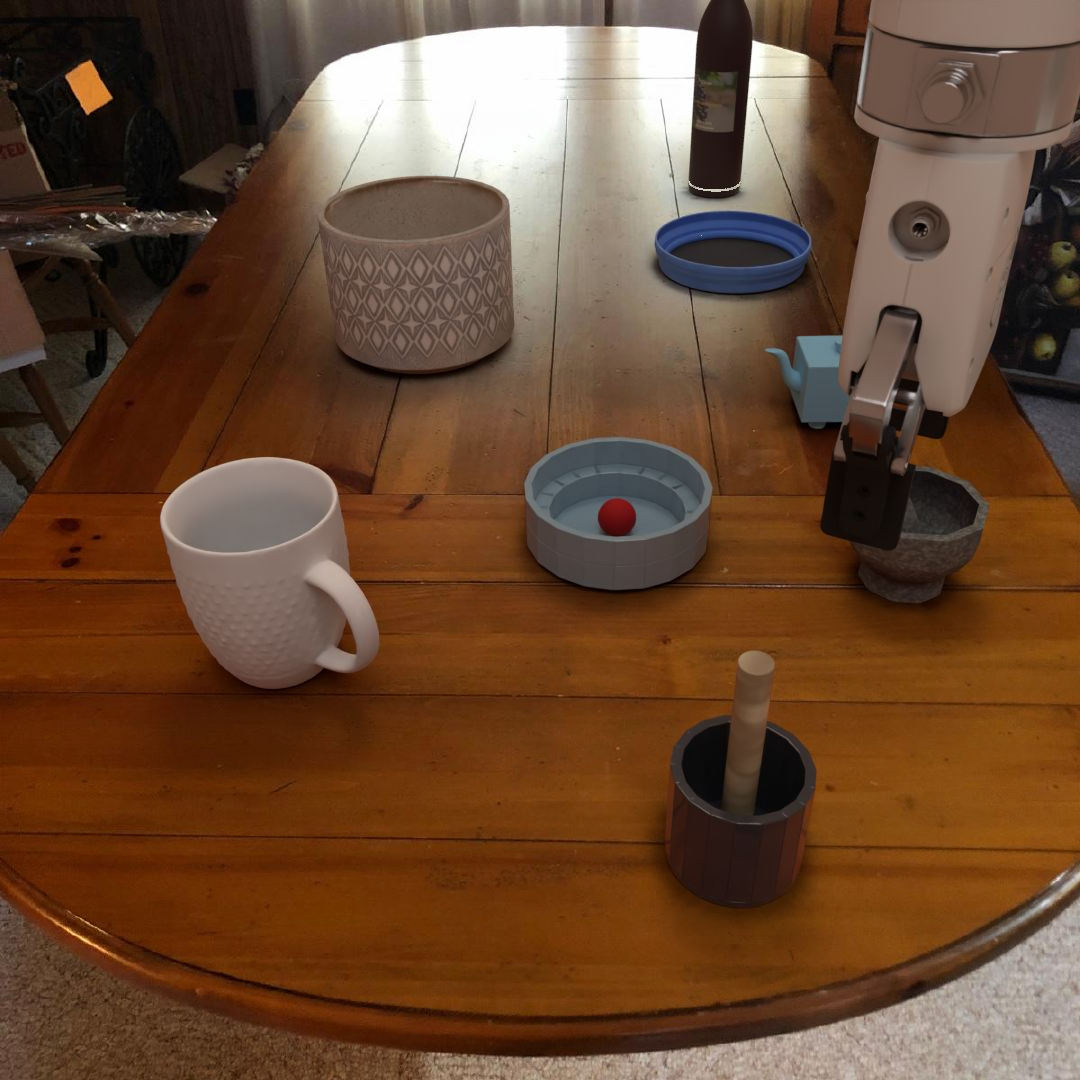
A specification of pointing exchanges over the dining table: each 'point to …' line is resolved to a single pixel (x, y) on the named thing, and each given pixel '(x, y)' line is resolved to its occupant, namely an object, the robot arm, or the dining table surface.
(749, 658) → the stick
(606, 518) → the berry
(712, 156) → the wine bottle
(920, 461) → the dining table surface
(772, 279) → the bowl
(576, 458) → the mixing bowl
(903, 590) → the mortar and pestle
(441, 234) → the planter
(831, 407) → the teapot
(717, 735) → the holder
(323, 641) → the mug
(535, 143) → the dining table surface
